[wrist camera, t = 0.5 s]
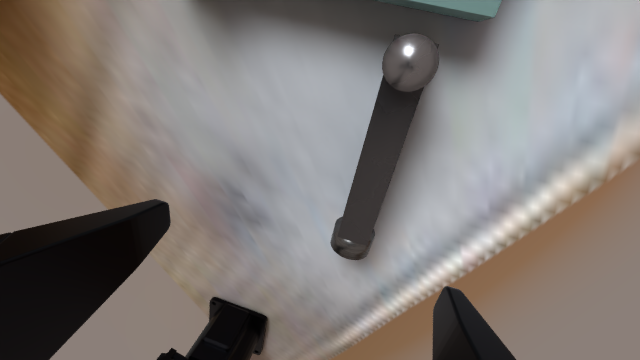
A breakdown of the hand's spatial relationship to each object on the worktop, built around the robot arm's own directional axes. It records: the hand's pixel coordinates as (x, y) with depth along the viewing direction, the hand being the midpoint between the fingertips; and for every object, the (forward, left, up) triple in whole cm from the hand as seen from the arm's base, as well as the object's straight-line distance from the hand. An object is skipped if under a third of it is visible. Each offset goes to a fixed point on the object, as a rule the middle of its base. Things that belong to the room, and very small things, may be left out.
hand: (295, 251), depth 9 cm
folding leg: (0, -2, -12) cm, 12 cm away
